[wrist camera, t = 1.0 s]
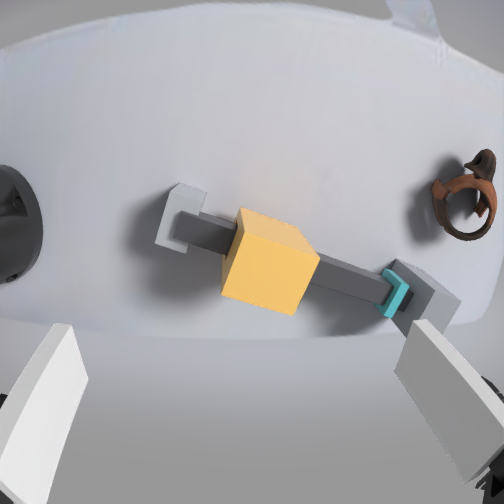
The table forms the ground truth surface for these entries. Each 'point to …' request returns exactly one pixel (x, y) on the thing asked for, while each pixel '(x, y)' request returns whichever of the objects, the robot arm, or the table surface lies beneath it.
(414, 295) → the slider rail
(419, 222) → the table surface
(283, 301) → the sleeve
